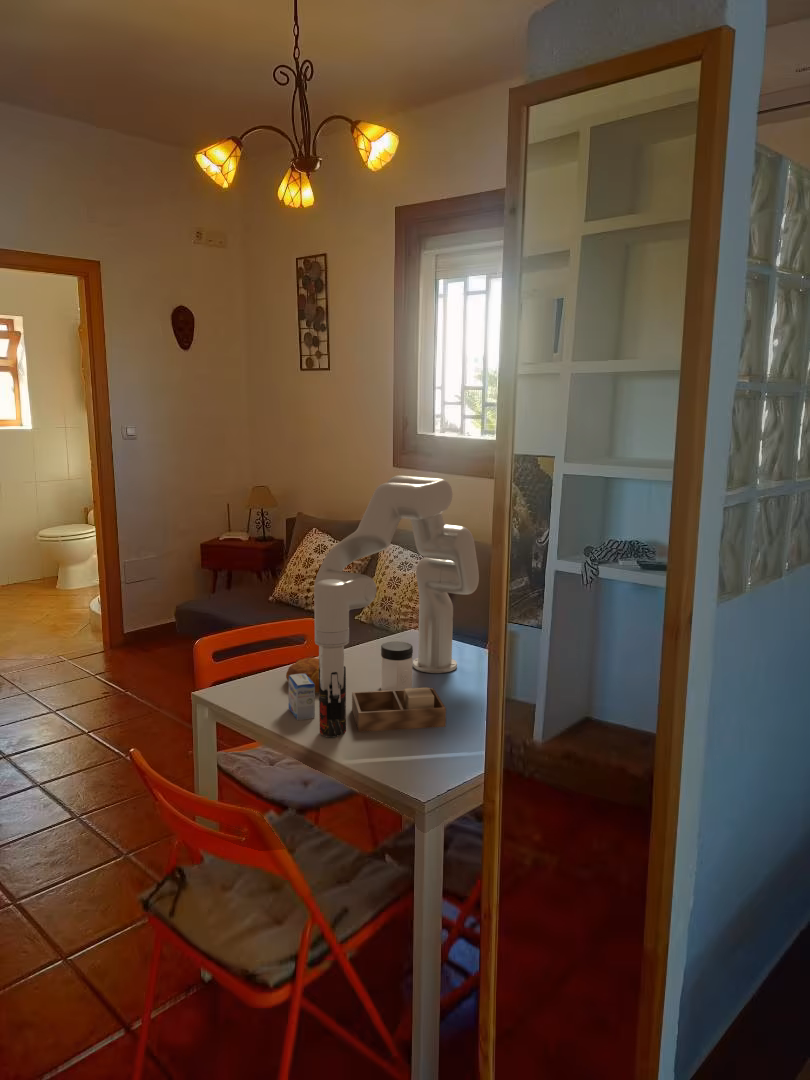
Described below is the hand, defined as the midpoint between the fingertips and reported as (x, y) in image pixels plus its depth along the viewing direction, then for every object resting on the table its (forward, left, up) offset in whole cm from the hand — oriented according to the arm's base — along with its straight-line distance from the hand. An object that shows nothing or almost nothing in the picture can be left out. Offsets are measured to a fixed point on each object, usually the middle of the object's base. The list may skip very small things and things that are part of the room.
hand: (332, 712), depth 177 cm
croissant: (-32, -1, -5) cm, 32 cm away
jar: (-25, +19, -5) cm, 31 cm away
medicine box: (-13, -6, -5) cm, 15 cm away
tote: (-5, +16, -5) cm, 17 cm away
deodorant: (0, 0, -5) cm, 5 cm away
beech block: (-5, +21, -4) cm, 22 cm away
